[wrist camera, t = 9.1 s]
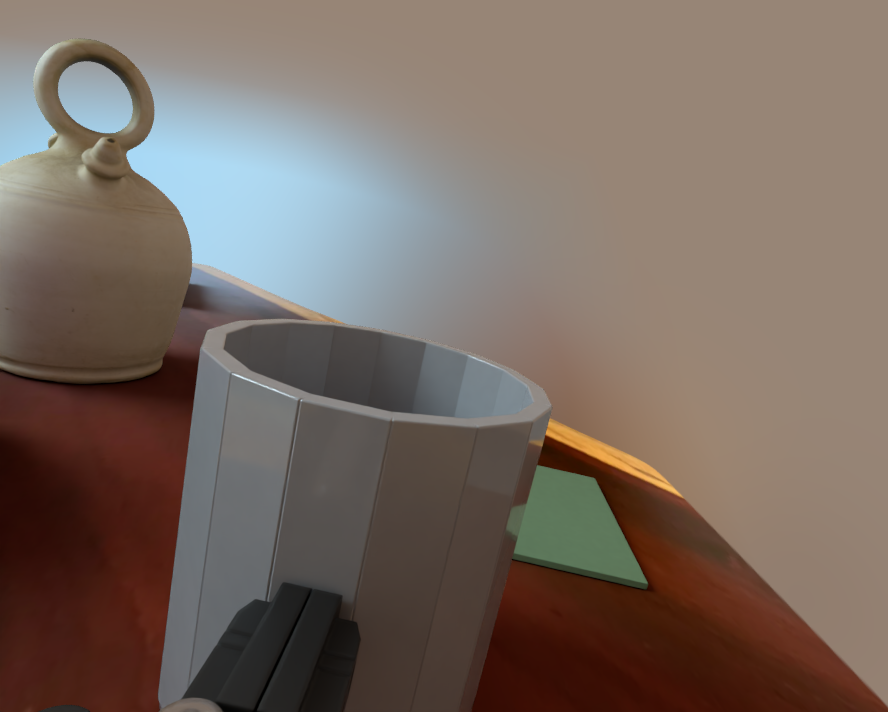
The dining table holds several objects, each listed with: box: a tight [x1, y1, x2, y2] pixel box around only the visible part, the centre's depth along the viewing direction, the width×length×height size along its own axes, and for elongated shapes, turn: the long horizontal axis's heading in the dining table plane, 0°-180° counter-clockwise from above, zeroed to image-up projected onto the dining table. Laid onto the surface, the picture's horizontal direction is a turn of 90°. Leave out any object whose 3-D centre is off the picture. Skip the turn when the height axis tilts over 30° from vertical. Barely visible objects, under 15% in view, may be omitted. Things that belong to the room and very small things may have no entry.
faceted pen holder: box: [158, 319, 552, 712], centre depth 19 cm, size 11×11×12 cm
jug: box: [0, 39, 192, 384], centre depth 43 cm, size 15×16×25 cm
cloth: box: [512, 465, 648, 590], centre depth 37 cm, size 22×14×1 cm, turn 86°
